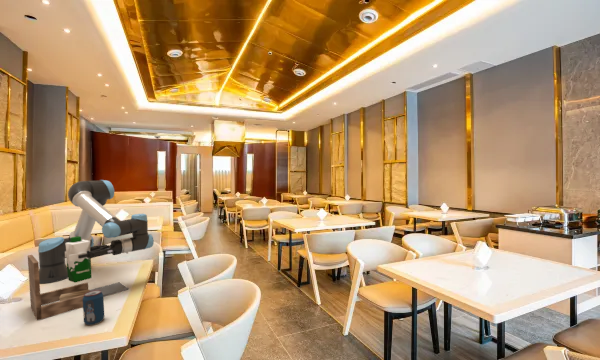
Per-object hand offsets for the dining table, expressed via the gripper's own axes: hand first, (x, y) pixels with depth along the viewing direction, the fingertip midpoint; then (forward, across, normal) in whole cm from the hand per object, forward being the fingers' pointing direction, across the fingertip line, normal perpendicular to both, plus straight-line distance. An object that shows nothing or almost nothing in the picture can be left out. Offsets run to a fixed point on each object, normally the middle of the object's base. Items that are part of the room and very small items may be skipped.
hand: (67, 256), depth 141 cm
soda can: (-3, -31, -22) cm, 38 cm away
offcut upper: (-2, 0, -20) cm, 21 cm away
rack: (+2, 0, -22) cm, 22 cm away
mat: (-17, +4, -22) cm, 28 cm away
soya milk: (-4, 0, -12) cm, 13 cm away
